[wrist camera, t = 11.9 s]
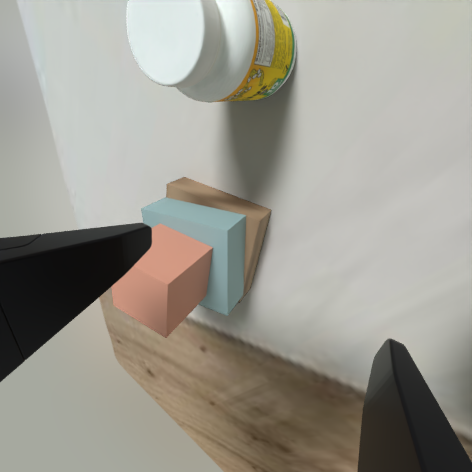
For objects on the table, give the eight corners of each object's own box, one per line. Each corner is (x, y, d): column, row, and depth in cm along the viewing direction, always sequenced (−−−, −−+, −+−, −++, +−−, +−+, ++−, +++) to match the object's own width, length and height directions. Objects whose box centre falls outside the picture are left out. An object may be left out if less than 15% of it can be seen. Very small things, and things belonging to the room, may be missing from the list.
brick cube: (212, 247, 20) (167, 284, 16) (206, 295, 23) (165, 338, 19) (160, 223, 21) (107, 251, 18) (159, 271, 24) (113, 305, 20)
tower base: (273, 208, 23) (259, 221, 21) (252, 285, 28) (239, 302, 25) (187, 175, 26) (166, 184, 23) (182, 250, 31) (164, 263, 28)
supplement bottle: (301, -5, 16) (215, -94, 8) (296, 98, 18) (226, 101, 11) (221, 13, 18) (98, -45, 11) (226, 102, 20) (129, 106, 13)
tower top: (246, 215, 21) (227, 230, 19) (243, 294, 25) (227, 316, 22) (165, 197, 24) (141, 208, 22) (174, 270, 28) (153, 286, 26)
